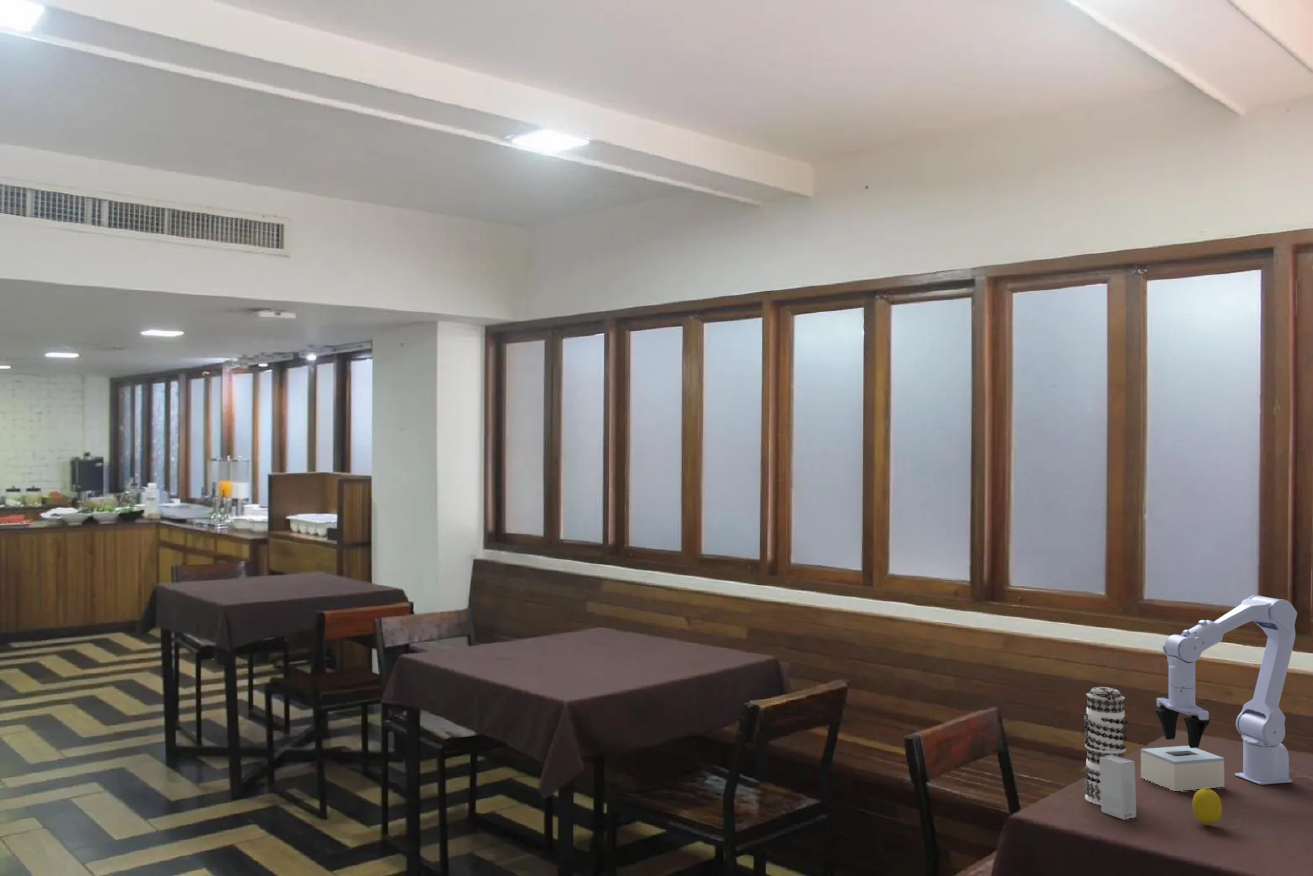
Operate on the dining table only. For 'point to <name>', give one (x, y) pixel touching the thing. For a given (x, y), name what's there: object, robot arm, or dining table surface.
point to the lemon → (1207, 806)
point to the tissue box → (1182, 768)
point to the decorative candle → (1102, 735)
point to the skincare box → (1118, 787)
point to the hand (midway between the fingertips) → (1181, 743)
